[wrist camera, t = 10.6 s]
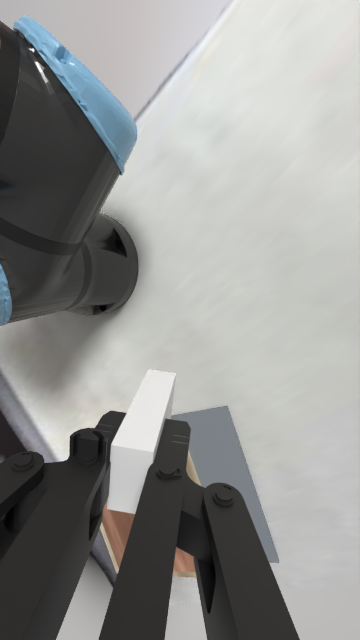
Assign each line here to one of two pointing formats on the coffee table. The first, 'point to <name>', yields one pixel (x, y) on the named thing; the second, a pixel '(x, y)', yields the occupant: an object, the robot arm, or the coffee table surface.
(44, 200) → the robot arm
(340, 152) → the coffee table surface
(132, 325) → the coffee table surface
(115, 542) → the birch slab
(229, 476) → the slate mat
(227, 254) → the coffee table surface
